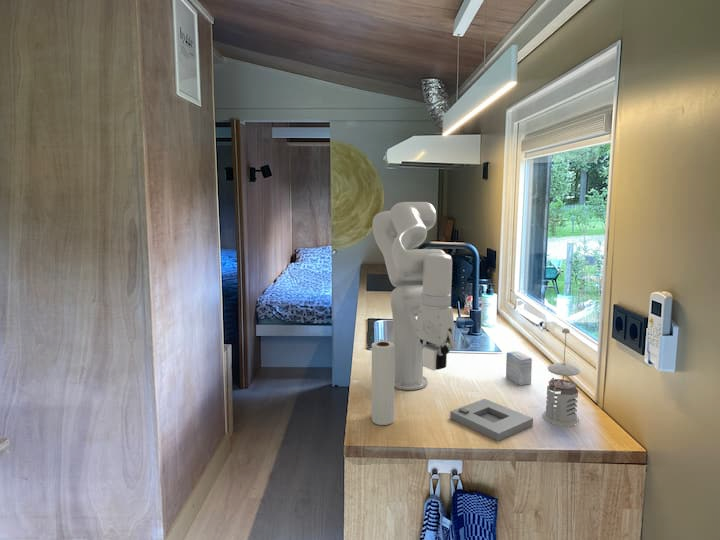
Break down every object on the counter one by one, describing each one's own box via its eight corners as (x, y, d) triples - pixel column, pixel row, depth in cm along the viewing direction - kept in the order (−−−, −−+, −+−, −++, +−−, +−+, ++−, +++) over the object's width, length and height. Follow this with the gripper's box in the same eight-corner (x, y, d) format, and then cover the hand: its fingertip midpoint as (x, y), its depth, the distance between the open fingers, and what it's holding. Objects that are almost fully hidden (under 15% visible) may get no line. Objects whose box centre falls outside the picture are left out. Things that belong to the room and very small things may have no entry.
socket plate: (450, 418, 136) (450, 409, 136) (484, 405, 145) (484, 396, 144) (498, 441, 124) (498, 431, 123) (532, 425, 132) (533, 416, 132)
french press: (586, 418, 136) (592, 328, 132) (567, 432, 128) (573, 337, 124) (551, 407, 143) (556, 321, 139) (531, 419, 135) (536, 329, 132)
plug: (422, 366, 137) (423, 345, 136) (435, 362, 140) (436, 341, 139) (433, 370, 134) (433, 349, 133) (446, 366, 137) (447, 345, 136)
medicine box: (531, 384, 160) (532, 358, 159) (519, 385, 159) (520, 359, 158) (517, 375, 168) (518, 350, 167) (505, 377, 167) (506, 351, 165)
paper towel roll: (388, 427, 131) (388, 348, 128) (367, 422, 134) (367, 345, 131) (399, 417, 137) (400, 341, 134) (379, 412, 140) (380, 338, 137)
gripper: (404, 296, 138) (403, 360, 141) (450, 308, 125) (447, 378, 128) (424, 292, 142) (423, 354, 146) (470, 304, 129) (467, 372, 132)
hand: (434, 365), depth 137 cm, fingers closed on plug, 4 cm apart
